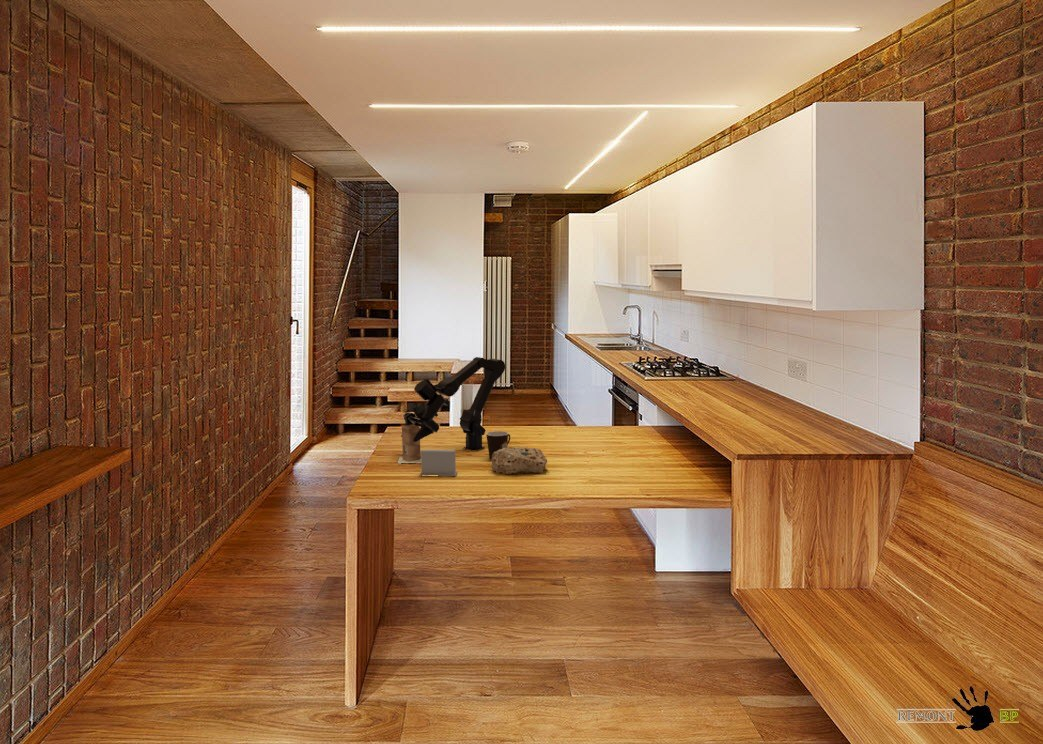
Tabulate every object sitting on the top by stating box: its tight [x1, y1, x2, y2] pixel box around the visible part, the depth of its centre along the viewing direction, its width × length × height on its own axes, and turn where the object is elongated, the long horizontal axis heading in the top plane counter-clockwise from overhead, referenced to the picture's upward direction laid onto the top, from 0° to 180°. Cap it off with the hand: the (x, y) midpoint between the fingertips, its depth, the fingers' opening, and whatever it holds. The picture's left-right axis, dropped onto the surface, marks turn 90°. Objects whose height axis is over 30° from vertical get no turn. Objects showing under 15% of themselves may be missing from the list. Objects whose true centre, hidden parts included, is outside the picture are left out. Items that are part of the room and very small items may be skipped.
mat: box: [397, 455, 421, 465], centre depth 292 cm, size 10×10×1 cm
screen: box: [419, 449, 458, 477], centre depth 271 cm, size 13×4×9 cm, turn 86°
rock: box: [491, 446, 548, 475], centre depth 276 cm, size 21×14×10 cm
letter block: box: [401, 425, 421, 462], centre depth 291 cm, size 5×5×13 cm
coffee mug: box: [485, 430, 511, 461], centre depth 294 cm, size 12×9×10 cm
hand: (408, 439), depth 290 cm, fingers open, 9 cm apart
